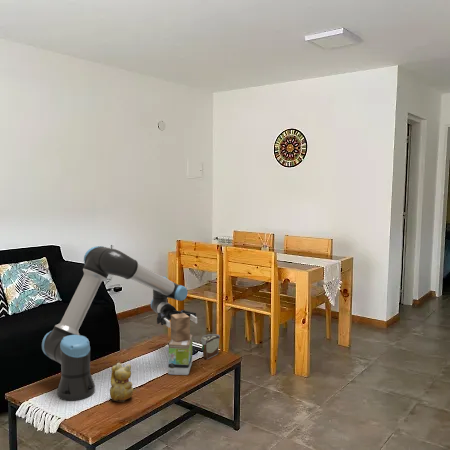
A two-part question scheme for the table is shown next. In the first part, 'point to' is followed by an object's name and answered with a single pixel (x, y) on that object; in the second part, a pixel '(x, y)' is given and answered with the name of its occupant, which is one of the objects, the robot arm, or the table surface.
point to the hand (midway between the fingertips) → (183, 322)
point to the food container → (210, 345)
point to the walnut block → (180, 327)
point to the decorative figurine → (121, 383)
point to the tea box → (180, 357)
